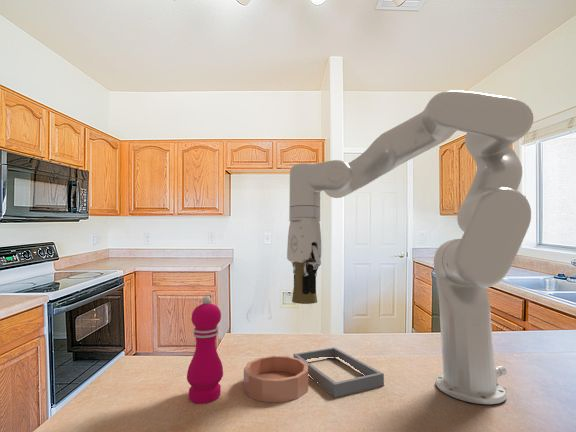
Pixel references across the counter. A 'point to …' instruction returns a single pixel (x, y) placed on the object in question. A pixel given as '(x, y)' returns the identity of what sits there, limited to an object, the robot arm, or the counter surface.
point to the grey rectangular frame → (345, 387)
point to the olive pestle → (297, 291)
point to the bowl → (276, 378)
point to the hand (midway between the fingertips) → (304, 291)
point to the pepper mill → (205, 355)
